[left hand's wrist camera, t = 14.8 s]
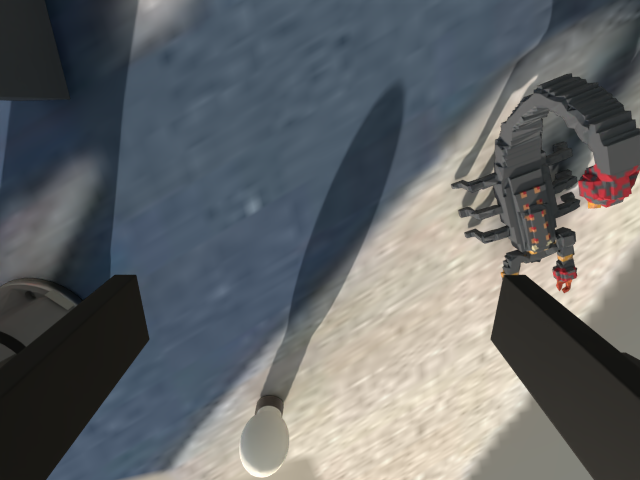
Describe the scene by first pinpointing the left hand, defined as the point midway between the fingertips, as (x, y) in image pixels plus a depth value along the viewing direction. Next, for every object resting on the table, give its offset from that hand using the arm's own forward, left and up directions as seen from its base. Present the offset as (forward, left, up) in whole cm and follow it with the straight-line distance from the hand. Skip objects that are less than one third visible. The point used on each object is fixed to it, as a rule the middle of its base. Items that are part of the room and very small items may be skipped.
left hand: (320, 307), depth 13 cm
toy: (+18, -15, -31) cm, 39 cm away
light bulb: (-25, -28, -31) cm, 49 cm away
